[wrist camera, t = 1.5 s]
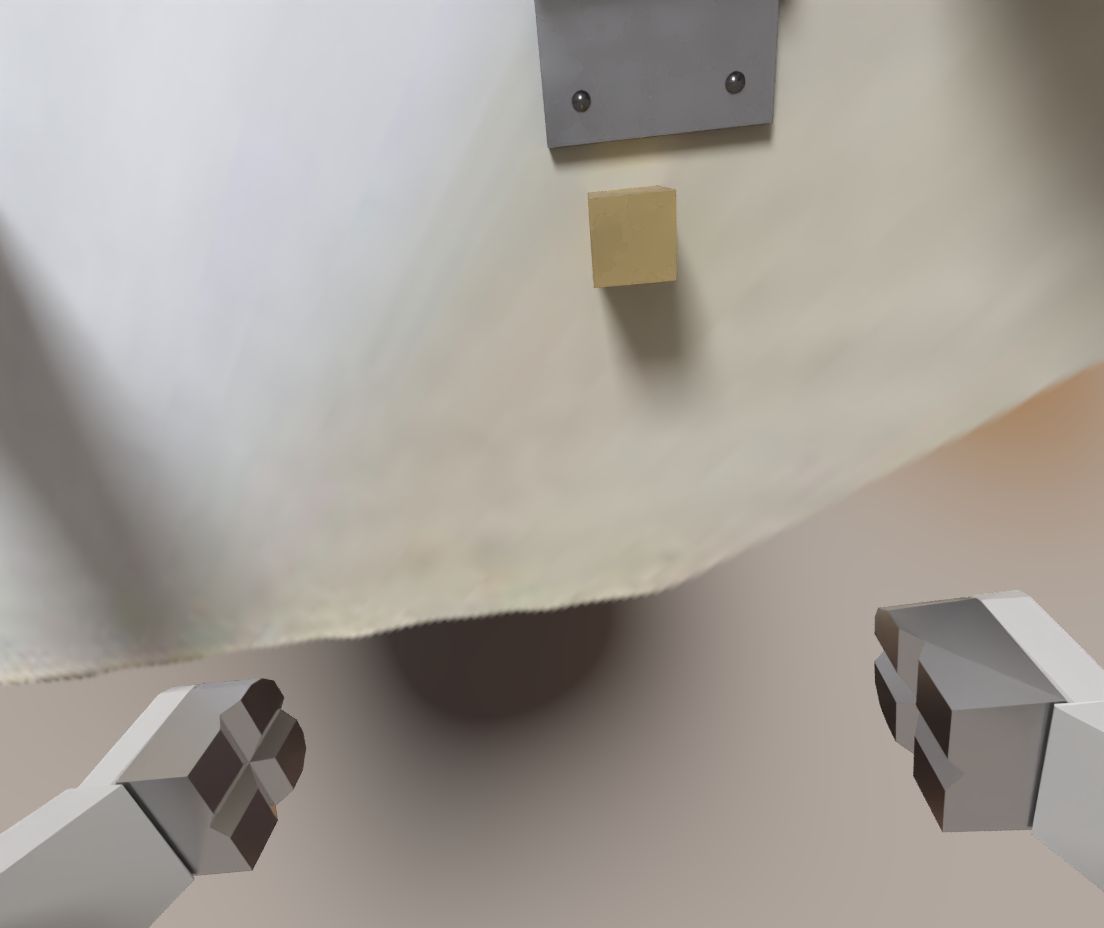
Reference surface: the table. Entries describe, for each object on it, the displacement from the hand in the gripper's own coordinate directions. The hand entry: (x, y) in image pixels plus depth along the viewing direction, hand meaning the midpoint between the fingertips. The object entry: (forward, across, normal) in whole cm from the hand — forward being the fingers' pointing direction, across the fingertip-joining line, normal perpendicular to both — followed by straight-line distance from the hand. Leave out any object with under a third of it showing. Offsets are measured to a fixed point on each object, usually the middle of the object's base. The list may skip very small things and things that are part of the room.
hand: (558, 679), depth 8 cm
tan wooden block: (+32, -2, -3) cm, 33 cm away
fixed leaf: (+32, -5, -12) cm, 35 cm away
